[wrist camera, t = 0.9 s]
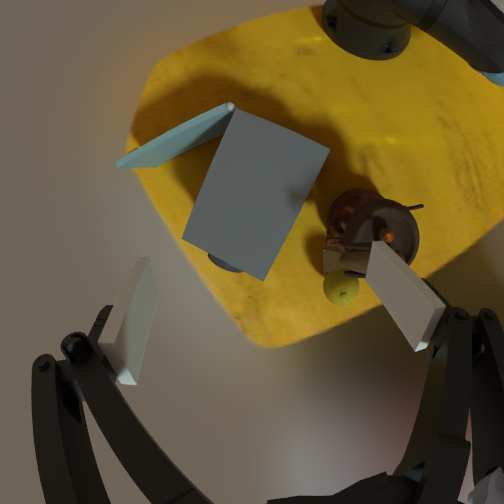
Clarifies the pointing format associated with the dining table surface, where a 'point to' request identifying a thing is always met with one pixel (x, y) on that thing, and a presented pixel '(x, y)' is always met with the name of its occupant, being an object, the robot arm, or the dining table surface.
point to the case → (253, 193)
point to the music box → (367, 231)
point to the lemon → (340, 287)
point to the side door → (180, 138)
